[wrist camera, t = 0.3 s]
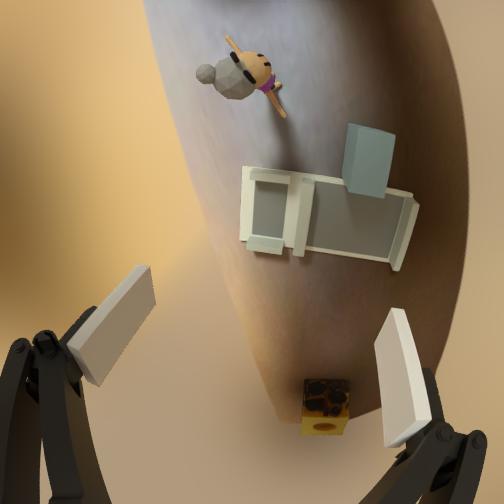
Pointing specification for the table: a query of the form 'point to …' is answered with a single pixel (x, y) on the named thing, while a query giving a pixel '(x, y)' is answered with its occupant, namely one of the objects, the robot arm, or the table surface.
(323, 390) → the yellow tissue box
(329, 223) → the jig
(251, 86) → the toy
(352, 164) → the grey-blue block
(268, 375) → the table surface
